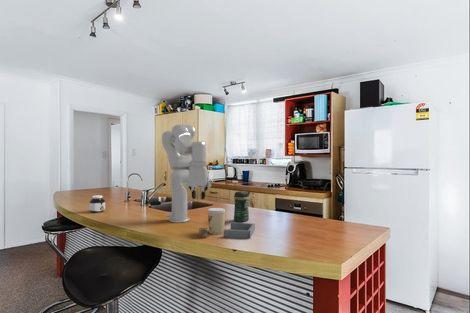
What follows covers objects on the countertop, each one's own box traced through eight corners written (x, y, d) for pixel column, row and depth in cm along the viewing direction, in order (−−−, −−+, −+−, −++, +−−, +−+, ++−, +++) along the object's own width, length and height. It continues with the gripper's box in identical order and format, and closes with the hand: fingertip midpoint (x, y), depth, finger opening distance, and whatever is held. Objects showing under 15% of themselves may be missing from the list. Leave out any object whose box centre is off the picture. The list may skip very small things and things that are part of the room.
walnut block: (199, 238, 134) (199, 230, 134) (199, 236, 138) (199, 228, 138) (207, 238, 134) (207, 229, 134) (207, 235, 138) (207, 227, 138)
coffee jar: (242, 223, 166) (242, 192, 166) (231, 221, 170) (231, 191, 170) (251, 220, 174) (251, 190, 174) (240, 218, 178) (240, 189, 178)
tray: (223, 236, 136) (223, 229, 136) (231, 228, 152) (231, 222, 152) (250, 238, 133) (250, 231, 133) (254, 230, 149) (254, 223, 149)
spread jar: (93, 213, 193) (93, 197, 193) (84, 212, 200) (84, 195, 200) (109, 211, 203) (109, 195, 204) (100, 209, 210) (100, 194, 210)
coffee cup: (207, 229, 149) (207, 207, 149) (224, 229, 150) (224, 207, 150) (207, 234, 140) (207, 211, 140) (225, 234, 141) (225, 210, 141)
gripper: (181, 164, 146) (181, 199, 145) (211, 165, 142) (211, 200, 142) (186, 164, 153) (186, 197, 153) (215, 164, 149) (215, 198, 149)
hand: (198, 198), depth 147 cm, fingers open, 4 cm apart
